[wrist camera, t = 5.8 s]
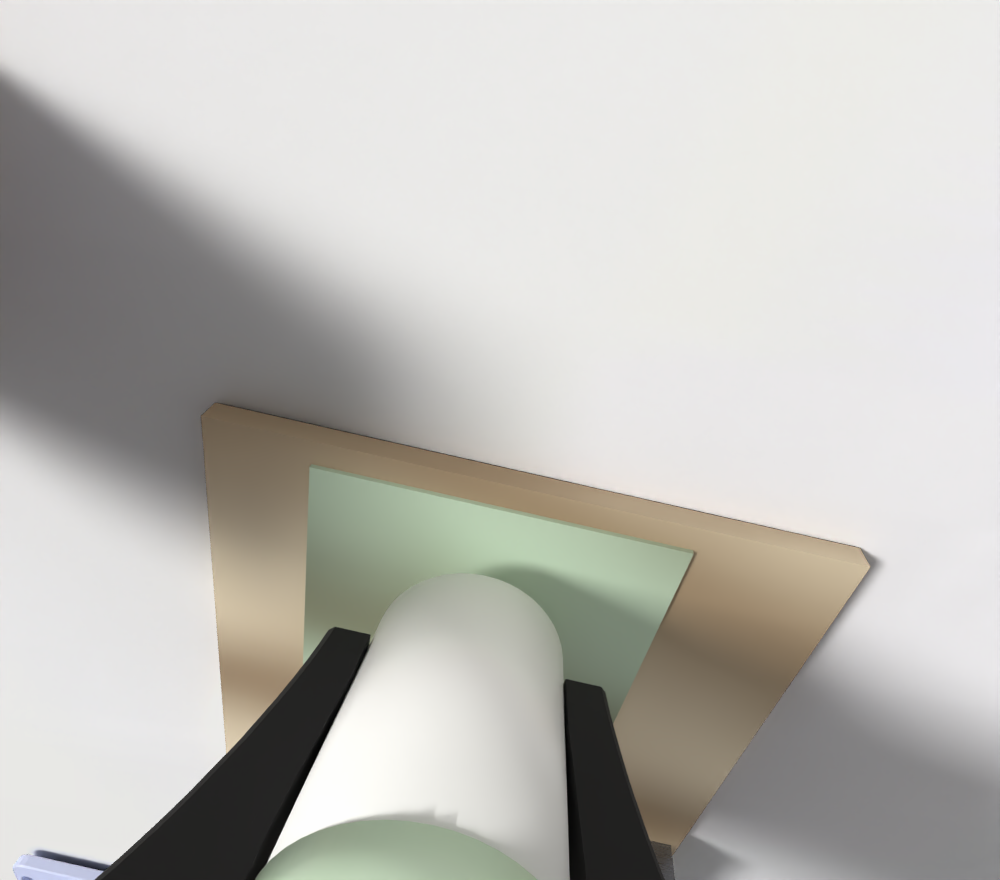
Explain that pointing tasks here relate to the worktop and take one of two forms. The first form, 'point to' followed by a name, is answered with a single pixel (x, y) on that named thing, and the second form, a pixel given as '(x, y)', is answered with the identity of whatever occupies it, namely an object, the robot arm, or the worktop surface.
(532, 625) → the white and green cylinder
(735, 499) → the worktop surface
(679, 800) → the picture board
